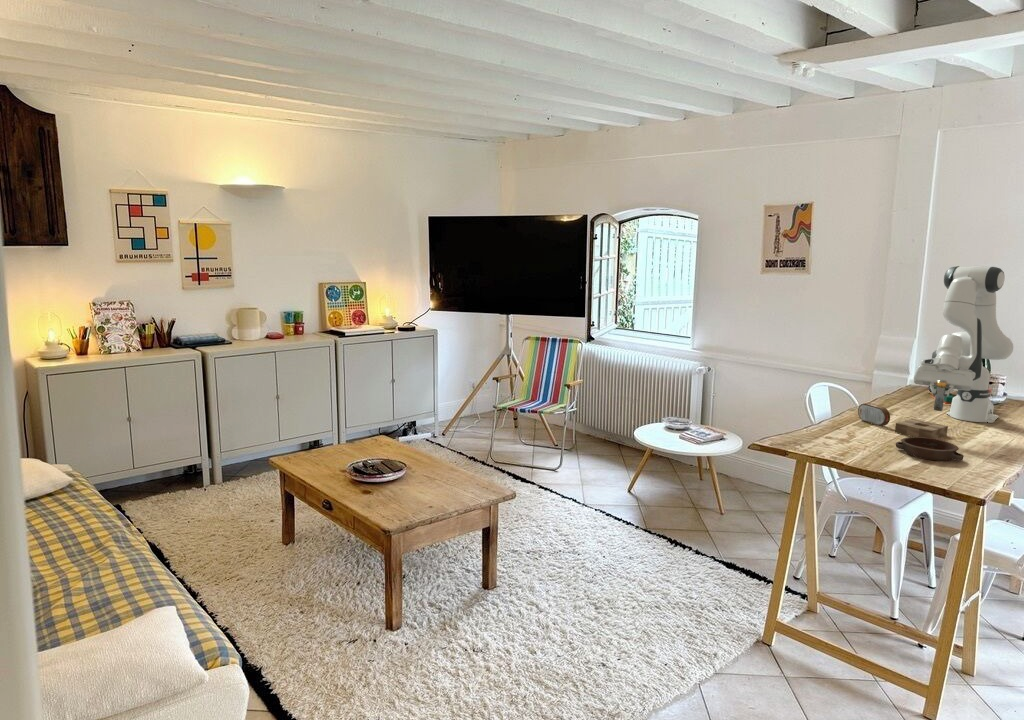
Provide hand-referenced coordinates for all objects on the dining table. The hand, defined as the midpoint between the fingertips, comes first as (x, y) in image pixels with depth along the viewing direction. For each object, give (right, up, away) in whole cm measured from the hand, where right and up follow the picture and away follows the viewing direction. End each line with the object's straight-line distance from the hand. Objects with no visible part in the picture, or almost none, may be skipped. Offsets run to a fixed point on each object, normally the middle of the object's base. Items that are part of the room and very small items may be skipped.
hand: (939, 394), depth 275 cm
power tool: (+47, -8, +67) cm, 82 cm away
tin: (-13, -14, +26) cm, 33 cm away
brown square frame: (-2, -17, +10) cm, 20 cm away
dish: (-16, -22, -19) cm, 33 cm away
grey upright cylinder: (0, -6, +1) cm, 6 cm away
